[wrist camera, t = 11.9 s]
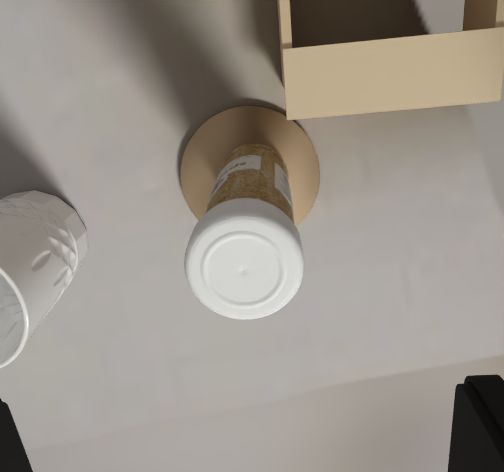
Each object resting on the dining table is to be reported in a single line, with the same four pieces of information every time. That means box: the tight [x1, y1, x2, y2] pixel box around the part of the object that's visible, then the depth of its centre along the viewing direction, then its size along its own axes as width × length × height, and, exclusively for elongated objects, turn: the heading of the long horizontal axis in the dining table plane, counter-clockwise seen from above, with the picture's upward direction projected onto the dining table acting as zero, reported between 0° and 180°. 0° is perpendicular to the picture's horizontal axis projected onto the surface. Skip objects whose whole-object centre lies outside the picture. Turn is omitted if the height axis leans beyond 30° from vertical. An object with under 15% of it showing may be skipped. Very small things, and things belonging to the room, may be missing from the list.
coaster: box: [180, 106, 320, 226], centre depth 29 cm, size 9×9×1 cm
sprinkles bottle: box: [184, 144, 304, 319], centre depth 23 cm, size 5×5×14 cm
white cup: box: [0, 190, 88, 368], centre depth 27 cm, size 8×8×10 cm
